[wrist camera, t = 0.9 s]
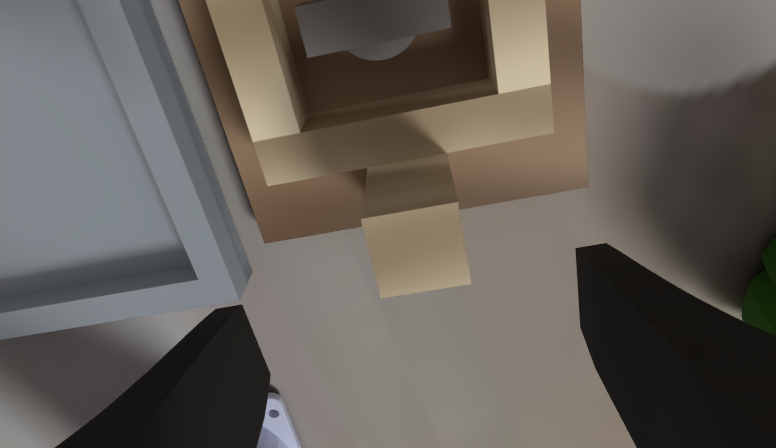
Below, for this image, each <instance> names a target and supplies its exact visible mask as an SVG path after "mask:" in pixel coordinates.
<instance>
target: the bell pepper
mask: <svg viewBox="0 0 776 448" xmlns="http://www.w3.org/2000/svg"><path fill="white" fill-rule="evenodd" d="M761 255H762V260H763V263H764V265H765V268H766V269H765V270H764V271H762V272H761V273H760V274H758V275H757V276H755V277H754V278H753V279H752V280H751V282H750V284H749V287H748V289H747V292H746V294H745V296H744V299H743V306H742V319H743V321H744V322H746V323H748V324H750V325H752V326H754V327H757V328H759V329H761V330H764V331H766V332H769V333H771V334H773V335H776V236H775V238H774V239H773V240H772V241H771V242H770V244H769V245H768V246H767V247H766V249H765V250H764V251H763V252H762V253H761Z"/></svg>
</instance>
